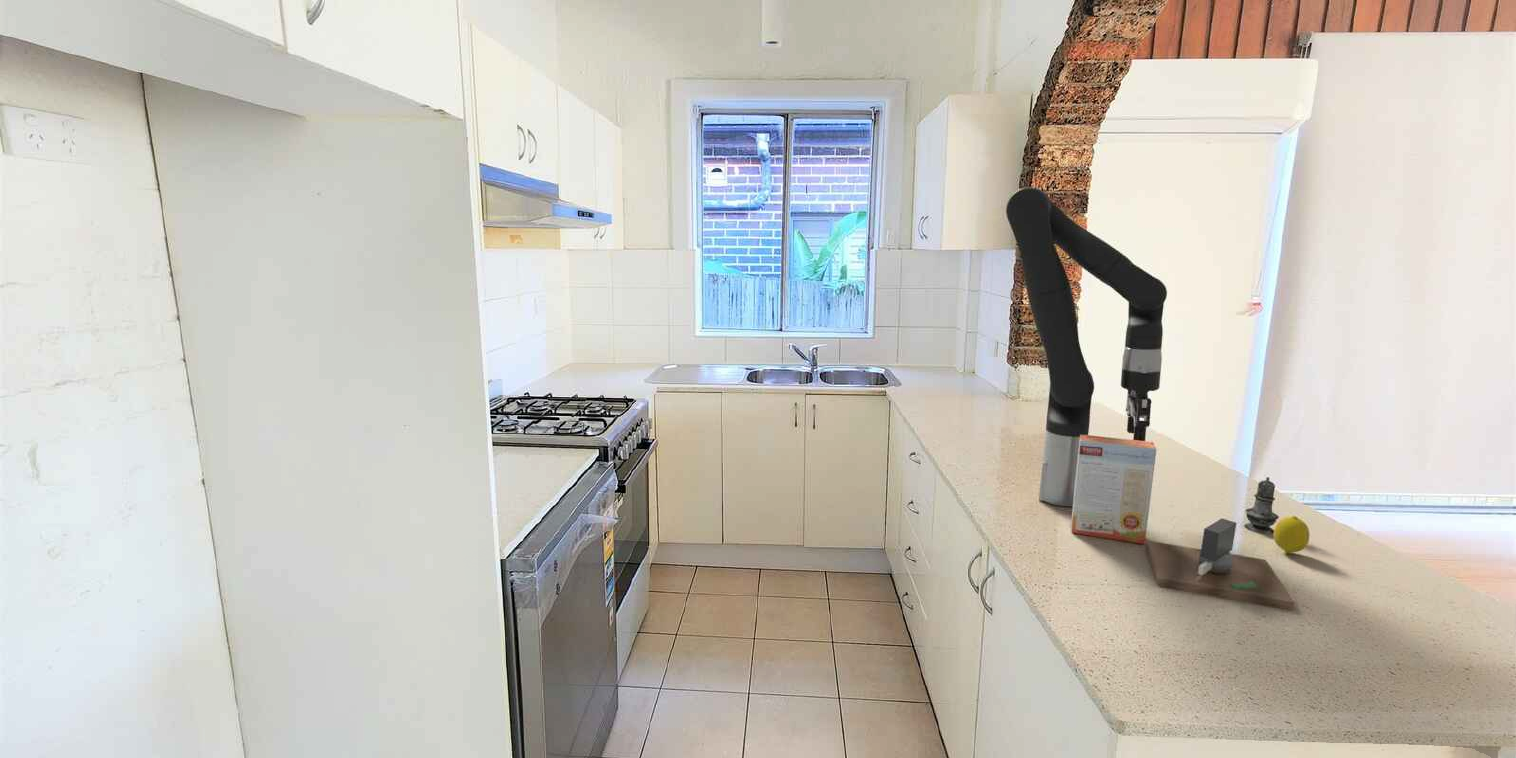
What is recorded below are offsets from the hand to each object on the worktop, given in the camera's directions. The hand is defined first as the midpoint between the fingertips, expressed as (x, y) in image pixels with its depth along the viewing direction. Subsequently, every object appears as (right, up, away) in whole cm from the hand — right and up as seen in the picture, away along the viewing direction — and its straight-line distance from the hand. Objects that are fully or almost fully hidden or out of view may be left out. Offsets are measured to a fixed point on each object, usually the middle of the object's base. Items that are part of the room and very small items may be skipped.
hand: (1135, 437), depth 150 cm
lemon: (+21, -22, -17) cm, 35 cm away
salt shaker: (+24, -20, -5) cm, 32 cm away
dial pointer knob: (-1, -22, -27) cm, 35 cm away
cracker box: (-11, -20, -8) cm, 24 cm away
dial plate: (0, -24, -26) cm, 35 cm away
